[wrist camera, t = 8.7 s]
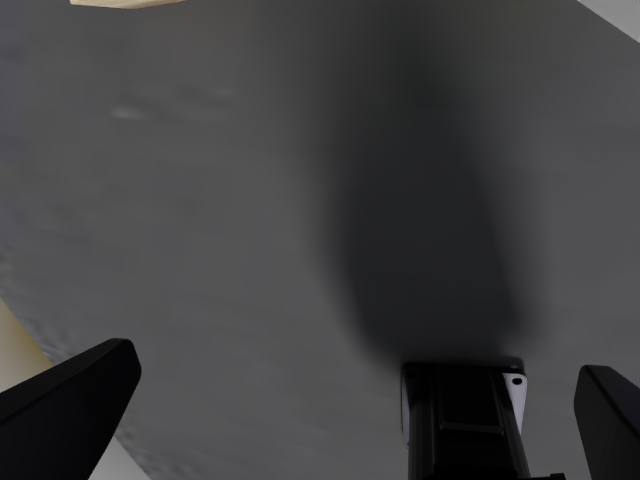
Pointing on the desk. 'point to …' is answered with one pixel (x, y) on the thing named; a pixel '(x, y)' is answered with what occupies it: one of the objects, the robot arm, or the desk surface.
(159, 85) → the desk surface
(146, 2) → the tower base
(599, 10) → the puzzle toy
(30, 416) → the robot arm
